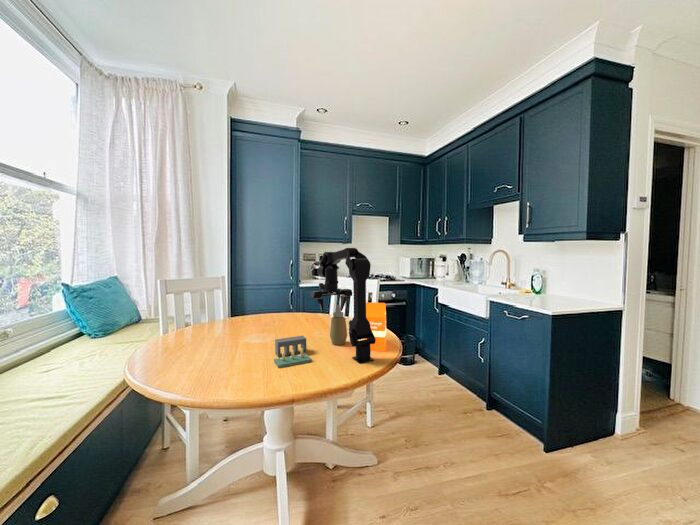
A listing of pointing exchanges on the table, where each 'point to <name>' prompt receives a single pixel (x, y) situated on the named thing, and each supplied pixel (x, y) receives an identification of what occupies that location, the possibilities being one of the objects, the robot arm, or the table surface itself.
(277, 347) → the block
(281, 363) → the strip
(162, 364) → the table surface
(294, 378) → the table surface
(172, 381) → the table surface
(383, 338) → the orange juice
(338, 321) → the squeeze bottle
